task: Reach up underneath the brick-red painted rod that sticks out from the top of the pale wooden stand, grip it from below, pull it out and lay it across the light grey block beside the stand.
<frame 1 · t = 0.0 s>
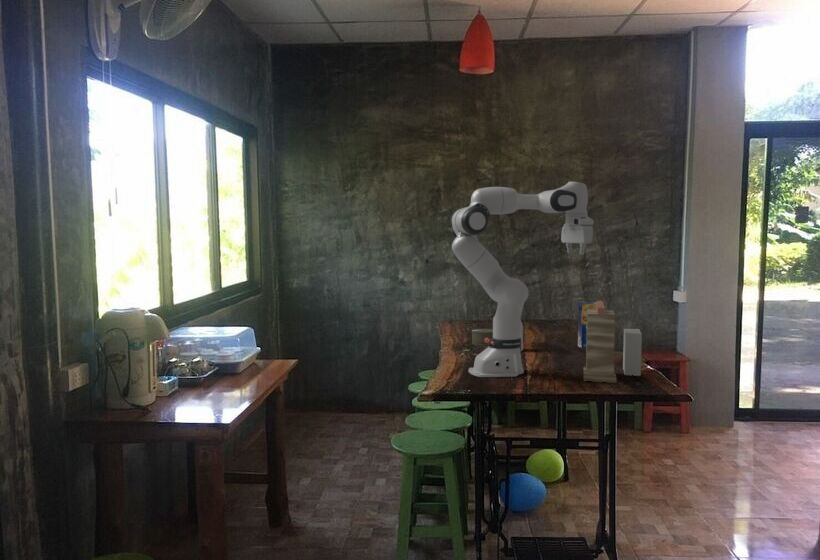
hand: (575, 254, 265), 48 cm above the table, tool pointing down, fingers open, 8 cm apart
can: (483, 344, 327), on the table
milk bottle: (514, 350, 307), on the table
seat block: (631, 372, 260), on the table
stand: (599, 377, 252), on the table
beverage box: (590, 347, 315), on the table
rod: (600, 310, 254), point 26 cm above the table, touching stand
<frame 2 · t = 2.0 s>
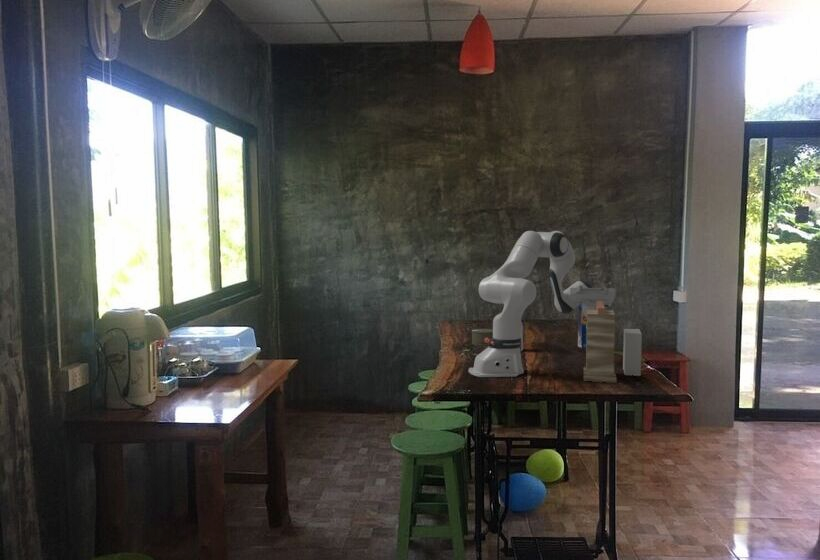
hand: (591, 287, 278), 33 cm above the table, tool pointing upward, fingers open, 8 cm apart
nothing on the table moved.
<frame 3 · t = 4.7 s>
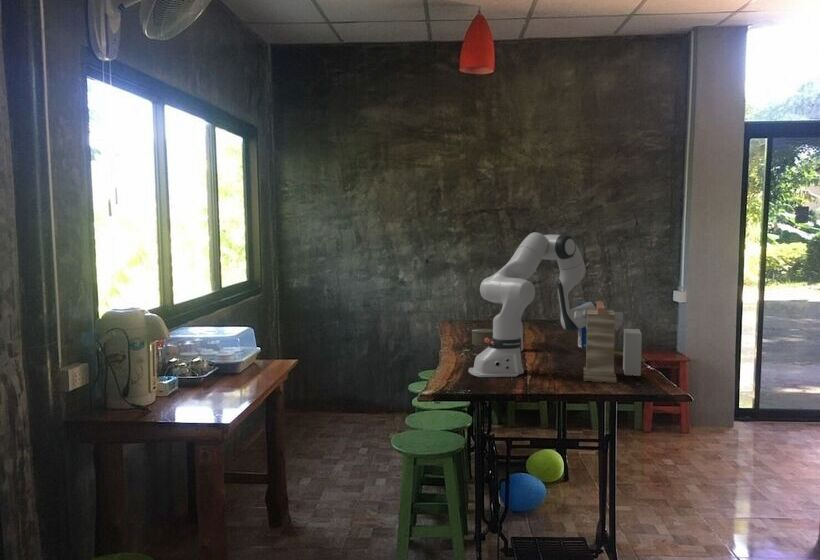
hand: (598, 310, 267), 24 cm above the table, tool pointing upward, fingers open, 8 cm apart
nothing on the table moved.
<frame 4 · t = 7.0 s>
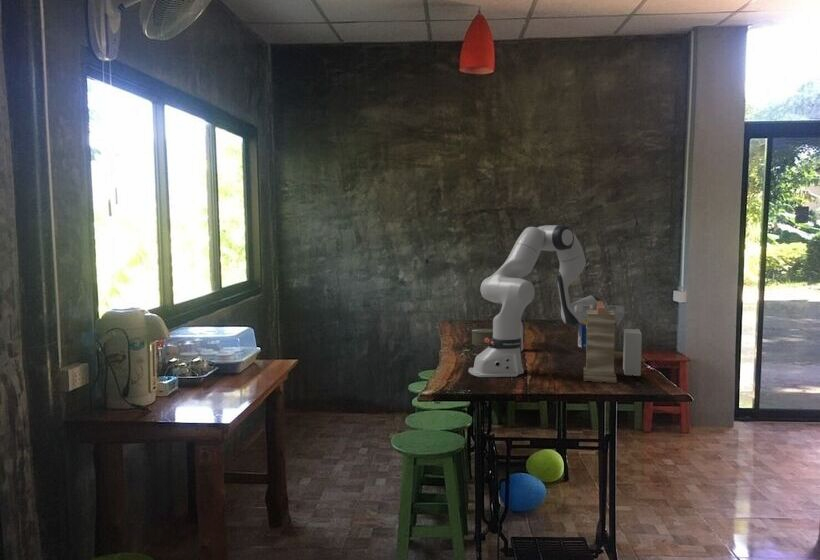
hand: (599, 304, 262), 27 cm above the table, tool pointing upward, fingers closed on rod, 2 cm apart
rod: (600, 310, 254), point 26 cm above the table, touching gripper, stand
everything else where it was.
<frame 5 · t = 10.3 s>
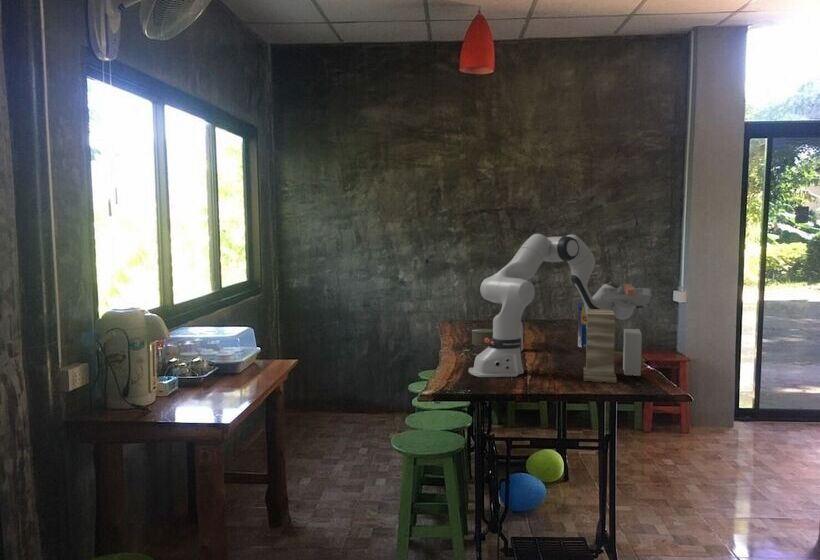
hand: (627, 287, 269), 34 cm above the table, tool pointing upward, fingers closed on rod, 2 cm apart
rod: (628, 292, 260), point 32 cm above the table, touching gripper
everything else where it was.
when the fingers open (19 cm above the table, at t = 14.0 s): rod stays where it is, resting on seat block.
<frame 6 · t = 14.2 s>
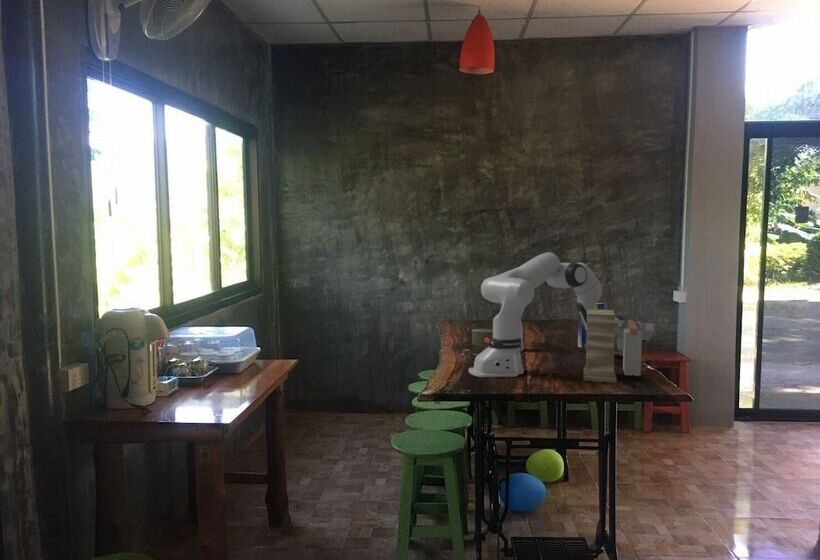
hand: (630, 322, 269), 19 cm above the table, tool pointing upward, fingers open, 5 cm apart
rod: (632, 330, 261), point 17 cm above the table, touching seat block
everything else where it was.
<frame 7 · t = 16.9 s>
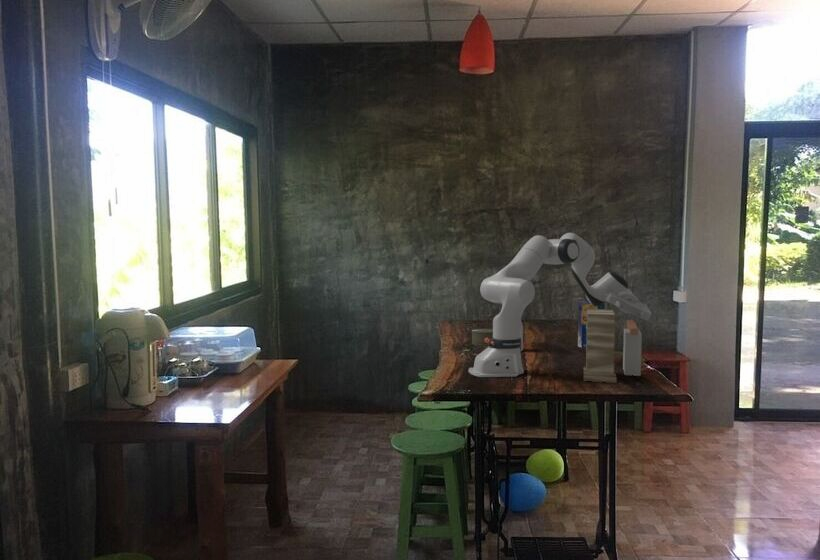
hand: (630, 311, 275), 23 cm above the table, tool horizontal, fingers open, 8 cm apart
nothing on the table moved.
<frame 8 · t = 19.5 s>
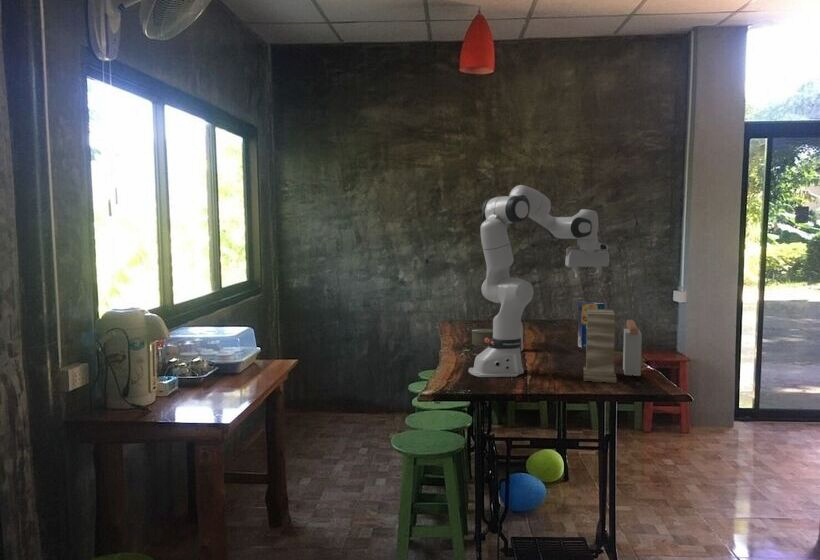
hand: (587, 277, 283), 37 cm above the table, tool pointing down, fingers open, 8 cm apart
nothing on the table moved.
at the end: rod inside the target area on the seat block (0.7 cm from its centre), point 17.0 cm above the seat block's base; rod touching seat block; the gripper is holding nothing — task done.
